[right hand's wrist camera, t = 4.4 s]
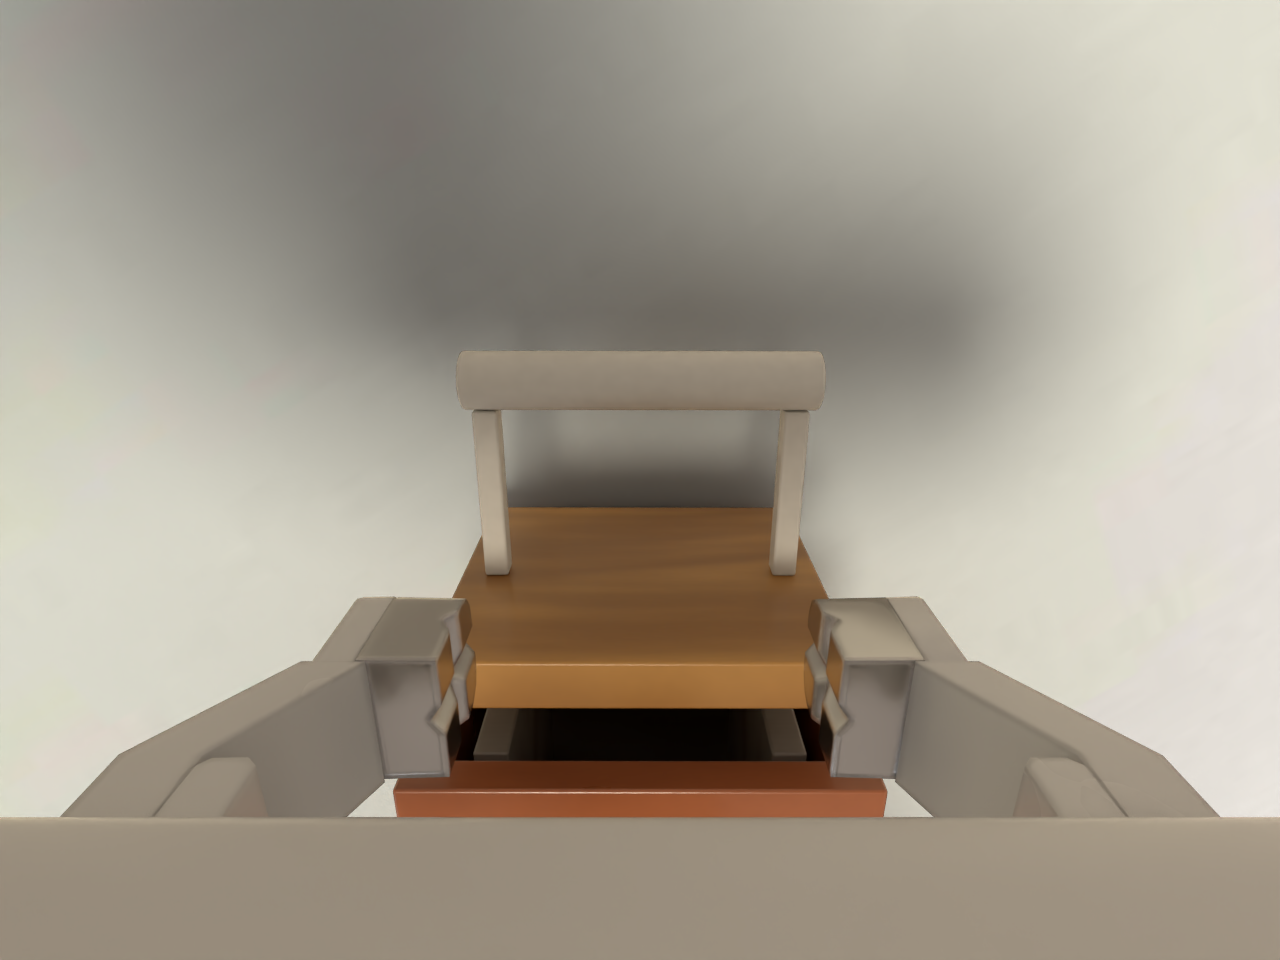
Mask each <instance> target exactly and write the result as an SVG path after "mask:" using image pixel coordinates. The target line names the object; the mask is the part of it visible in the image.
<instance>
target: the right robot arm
mask: <svg viewBox="0 0 1280 960" xmlns="http://www.w3.org/2000/svg"><path fill="white" fill-rule="evenodd" d="M472 626H473V625H472V618H471V610H470V605H469V603H468V601H467V599H466V598H415V597H398V598H396V597H363V598H359V599H357V600H356V601H355V602H354V604H353V605H352V606H351V608H350V609H349V611H348V612H347V613H346V615H345V616H344V617H343V619H342V620H341V622H340V623H339V624H338V626H337V627H336V629H335V630H334V631H333V633H332V634H331V636H330V637H329V638H328V640H327V641H326V643H325V644H324V645H323V647H322V648H321V650H320V651H319V652H318V654H317V655H316V657H315V658H314V659H313V661H301V662H299V663H297V664H295V665H293V666H291V667H289V668H287V669H285V670H283V671H281V672H279V673H277V674H275V675H273V676H272V677H270V678H268V679H266V680H264V681H262V682H260V683H258V684H256V685H254V686H252V687H250V688H248V689H246V690H244V691H242V692H240V693H238V694H236V695H234V696H232V697H230V698H228V699H226V700H225V701H223V702H221V703H219V704H217V705H215V706H213V707H211V708H209V709H207V710H205V711H203V712H201V713H199V714H197V715H195V716H193V717H191V718H189V719H187V720H185V721H183V722H181V723H179V724H178V725H176V726H174V727H172V728H170V729H168V730H166V731H164V732H162V733H160V734H158V735H156V736H154V737H152V738H150V739H148V740H146V741H144V742H142V743H140V744H138V745H136V746H134V747H133V748H131V749H129V750H127V751H125V752H123V753H121V754H119V755H118V756H117V757H116V758H115V759H114V760H113V761H112V762H111V763H110V764H109V765H108V766H107V768H106V769H105V770H104V771H103V772H102V773H101V774H100V775H99V776H98V777H97V778H96V779H95V780H94V781H93V782H92V783H91V785H90V786H89V787H88V788H87V789H86V790H85V791H84V792H83V793H82V794H81V795H80V796H79V797H78V798H77V799H76V800H75V802H74V803H73V804H72V805H71V806H70V807H69V808H68V809H67V810H66V811H65V812H64V813H63V814H62V815H61V816H60V817H0V960H1280V817H1220V816H1219V815H1218V814H1217V813H1216V812H1215V811H1214V810H1213V809H1212V808H1211V807H1210V805H1209V804H1208V803H1207V802H1206V801H1205V800H1204V799H1203V798H1202V797H1201V796H1200V795H1199V794H1198V793H1197V792H1196V790H1195V789H1194V788H1193V787H1192V786H1191V785H1190V784H1189V783H1188V782H1187V781H1186V780H1185V779H1184V778H1183V777H1182V776H1181V774H1180V773H1179V772H1178V771H1177V770H1176V769H1175V768H1174V767H1173V766H1172V765H1171V764H1170V763H1169V762H1168V761H1167V760H1166V758H1165V757H1164V756H1163V755H1161V754H1159V753H1157V752H1155V751H1153V750H1151V749H1149V748H1147V747H1145V746H1143V745H1141V744H1139V743H1137V742H1135V741H1133V740H1131V739H1130V738H1128V737H1126V736H1124V735H1122V734H1120V733H1118V732H1116V731H1114V730H1112V729H1110V728H1108V727H1106V726H1104V725H1102V724H1100V723H1098V722H1096V721H1094V720H1092V719H1090V718H1089V717H1087V716H1085V715H1083V714H1081V713H1079V712H1077V711H1075V710H1073V709H1071V708H1069V707H1067V706H1065V705H1063V704H1061V703H1059V702H1057V701H1055V700H1053V699H1051V698H1050V697H1048V696H1046V695H1044V694H1042V693H1040V692H1038V691H1036V690H1034V689H1032V688H1030V687H1028V686H1026V685H1024V684H1022V683H1020V682H1018V681H1016V680H1014V679H1012V678H1010V677H1009V676H1007V675H1005V674H1003V673H1001V672H999V671H997V670H995V669H993V668H991V667H989V666H987V665H985V664H983V663H981V662H979V661H967V659H966V658H965V657H964V655H963V654H962V652H961V651H960V650H959V648H958V647H957V645H956V644H955V643H954V641H953V640H952V639H951V637H950V636H949V634H948V633H947V632H946V630H945V629H944V627H943V626H942V625H941V623H940V622H939V621H938V619H937V618H936V616H935V615H934V614H933V612H932V611H931V609H930V608H929V607H928V605H927V604H926V603H925V601H924V600H923V599H921V598H919V597H917V596H913V597H889V598H886V597H883V598H842V599H815V600H812V602H811V606H810V609H809V617H808V628H809V631H810V633H811V636H812V639H813V641H814V643H813V644H812V645H811V646H810V647H809V648H808V649H807V651H806V652H805V658H804V692H805V698H806V703H807V707H808V710H809V714H810V717H811V719H813V720H814V721H815V722H817V723H818V724H819V725H820V730H819V740H818V741H819V744H820V747H821V750H822V753H823V756H824V759H825V762H826V765H827V768H828V771H829V774H830V777H847V778H883V779H896V780H895V782H896V783H897V784H898V785H899V786H900V787H902V788H903V789H904V790H905V791H906V792H907V793H908V794H909V795H910V796H911V797H912V798H914V799H915V800H916V801H917V802H918V803H919V804H920V805H921V806H922V807H923V808H925V809H926V810H927V811H928V812H929V813H930V814H931V815H932V816H933V817H347V816H348V815H349V814H350V813H352V812H353V811H354V810H355V809H356V808H357V807H358V806H359V805H360V804H361V803H362V802H364V801H365V800H366V799H367V798H368V797H369V796H370V795H371V794H372V793H373V792H375V791H376V790H377V789H378V788H379V787H380V786H381V785H382V784H383V783H384V782H385V781H384V779H396V778H432V777H450V774H451V771H452V768H453V765H454V762H455V759H456V756H457V753H458V751H459V748H460V745H461V742H462V739H461V729H460V725H461V724H462V723H464V722H465V721H466V720H468V719H469V717H470V714H471V711H472V707H473V704H474V697H475V690H476V656H475V652H474V650H473V649H472V648H471V647H470V646H469V645H468V644H467V643H466V642H467V639H468V636H469V634H470V631H471V628H472Z"/></svg>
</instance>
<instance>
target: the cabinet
mask: <svg viewBox="0 0 1280 960" xmlns="http://www.w3.org/2000/svg"><path fill="white" fill-rule="evenodd" d="M486 710H487V708H472V711H471V714H470V717H469V719H468V720H466V721H465V722H464V723H462V724H461V725H460V729H461V739H462V742H461V745H460V748H459V751H458V753H457V756H456V759H455V762H454V765H453V768H452V771H451V774H450V777H432V778H398V780H397V782H396V784H395V787H394V789H393V795H394V801H395V807H396V813H397V817H883V816H884V810H885V804H886V798H887V789H886V787H885V784H884V782H883V779H882V778H847V777H830V774H829V771H828V768H827V765H826V762H825V759H824V756H823V753H822V750H821V747H820V744H819V741H818V740H819V730H820V725H819V724H818V723H817V722H815V721H814V720H813V719H811V717H810V714H809V710H808V709H793V710H794V713H795V716H796V720H797V723H798V726H799V730H800V733H801V736H802V740H803V743H804V746H805V750H806V753H807V758H806V761H474V756H473V753H474V750H475V746H476V743H477V740H478V737H479V733H480V730H481V727H482V723H483V720H484V717H485V713H486Z"/></svg>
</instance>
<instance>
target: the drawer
mask: <svg viewBox="0 0 1280 960" xmlns="http://www.w3.org/2000/svg"><path fill="white" fill-rule="evenodd" d="M825 384H826V371H825V363H824V359H823V356H822V354H821V353H820V352H818V351H462V352H461V353H460V354H459V357H458V360H457V366H456V388H457V395H458V399H459V402H460V405H461V407H462V408H463V409H465V410H474V411H473V412H472V422H473V434H474V445H475V457H476V468H477V480H478V491H479V503H480V514H481V526H482V536H481V538H480V540H479V542H478V544H477V547H476V549H475V551H474V553H473V555H472V557H471V559H470V561H469V563H468V566H467V568H466V570H465V572H464V574H463V576H462V578H461V580H460V582H459V585H458V587H457V589H456V591H455V593H454V595H453V597H452V598H466V599H467V601H468V603H469V605H470V610H471V618H472V625H473V626H472V628H471V631H470V634H469V636H468V639H467V642H466V643H467V644H468V645H469V646H470V647H471V648H472V649H473V650H474V652H475V656H476V690H475V697H474V704H473V707H472V708H487V710H486V713H485V717H484V720H483V723H482V727H481V730H480V733H479V737H478V740H477V743H476V746H475V750H474V753H473V756H474V761H806V758H807V753H806V750H805V746H804V743H803V740H802V736H801V733H800V730H799V726H798V723H797V720H796V716H795V713H794V710H793V709H808V707H807V703H806V698H805V692H804V658H805V652H806V651H807V649H808V648H809V647H810V646H811V645H812V644H813V643H814V641H813V639H812V636H811V633H810V631H809V628H808V617H809V609H810V606H811V602H812V600H815V599H829V598H828V596H827V594H826V592H825V590H824V587H823V585H822V583H821V581H820V579H819V577H818V575H817V573H816V570H815V568H814V566H813V564H812V562H811V560H810V558H809V556H808V553H807V551H806V549H805V547H804V545H803V543H802V541H801V539H800V536H799V528H800V517H801V506H802V495H803V484H804V473H805V462H806V450H807V439H808V428H809V417H810V414H809V412H808V411H807V410H817V409H819V408H820V406H821V404H822V401H823V398H824V393H825ZM501 410H780V423H779V436H778V449H777V463H776V476H775V489H774V503H773V508H602V507H508V501H507V487H506V473H505V459H504V445H503V431H502V417H501Z"/></svg>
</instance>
